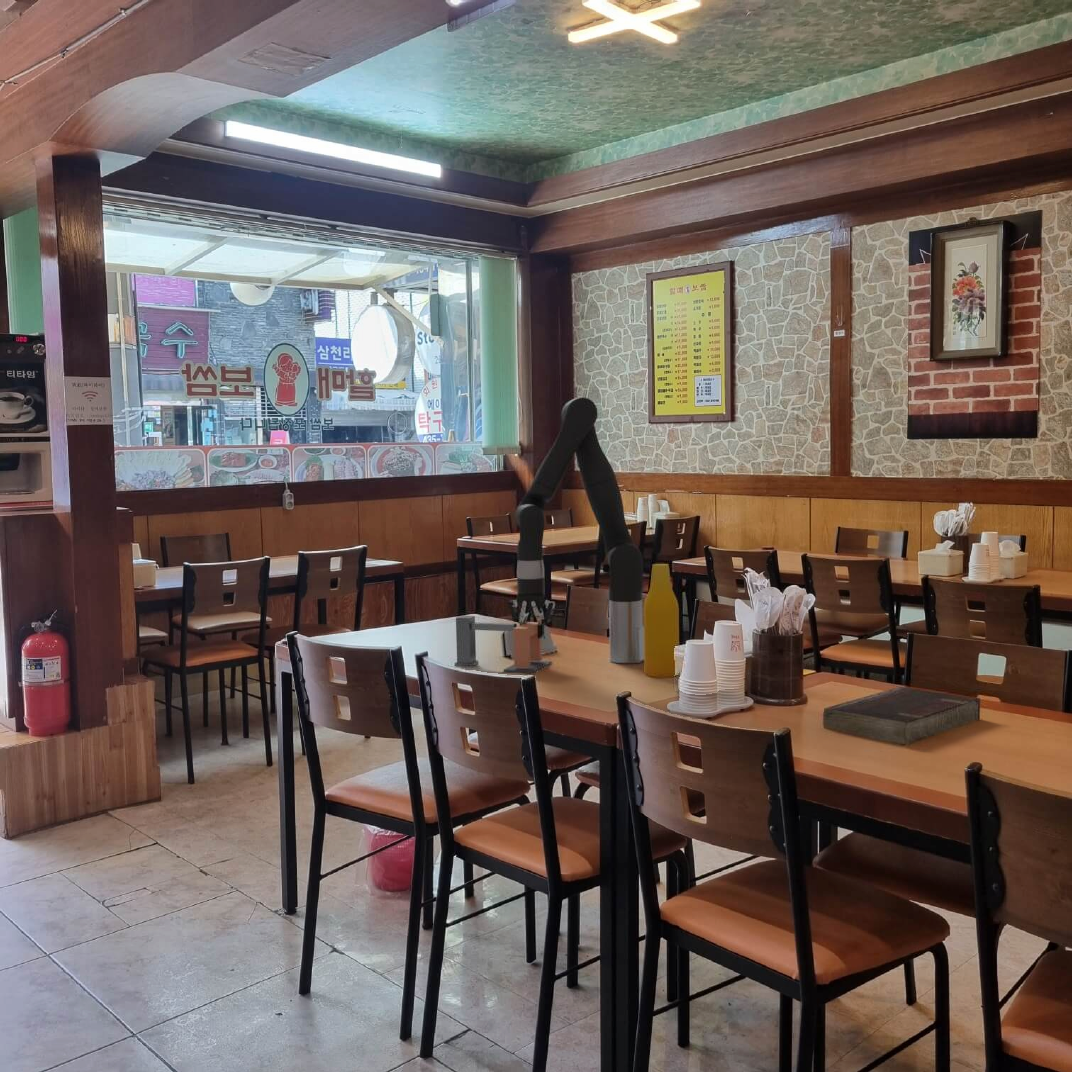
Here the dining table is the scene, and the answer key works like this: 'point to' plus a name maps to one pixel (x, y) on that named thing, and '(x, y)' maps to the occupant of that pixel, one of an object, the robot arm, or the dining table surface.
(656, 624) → the beer bottle
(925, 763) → the dining table surface
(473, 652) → the bracket
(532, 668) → the mat
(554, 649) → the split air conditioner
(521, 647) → the pink block
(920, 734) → the hardback book
